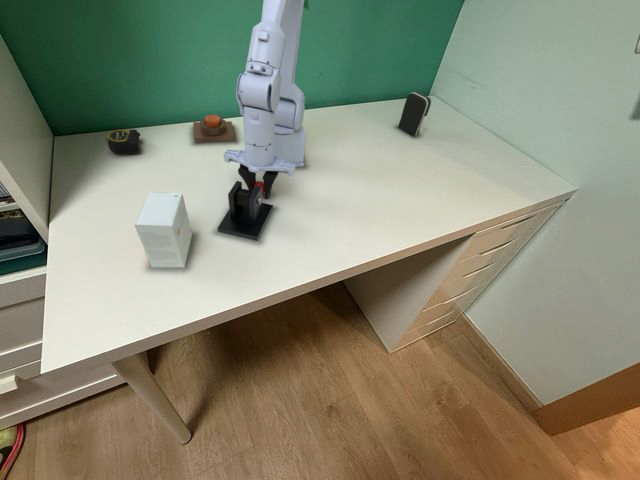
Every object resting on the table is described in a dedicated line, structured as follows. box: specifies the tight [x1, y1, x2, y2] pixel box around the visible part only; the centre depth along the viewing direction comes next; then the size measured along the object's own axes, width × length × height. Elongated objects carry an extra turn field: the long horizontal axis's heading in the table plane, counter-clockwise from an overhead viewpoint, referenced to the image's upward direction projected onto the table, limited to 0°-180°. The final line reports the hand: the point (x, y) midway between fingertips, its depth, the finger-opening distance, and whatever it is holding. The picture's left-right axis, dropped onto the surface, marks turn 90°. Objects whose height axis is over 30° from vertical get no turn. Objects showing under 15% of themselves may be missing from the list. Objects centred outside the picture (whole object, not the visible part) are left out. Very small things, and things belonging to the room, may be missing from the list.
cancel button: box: [204, 114, 221, 127], centre depth 84 cm, size 4×4×2 cm
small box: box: [134, 191, 193, 268], centre depth 55 cm, size 8×6×10 cm
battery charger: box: [397, 91, 432, 137], centre depth 98 cm, size 7×4×11 cm, turn 41°
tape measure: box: [105, 129, 141, 155], centre depth 77 cm, size 7×7×4 cm
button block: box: [192, 117, 236, 145], centre depth 86 cm, size 10×8×4 cm
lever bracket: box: [217, 180, 274, 242], centre depth 64 cm, size 10×8×8 cm
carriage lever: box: [237, 180, 265, 206], centre depth 67 cm, size 12×3×3 cm, turn 168°
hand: (260, 194), depth 72 cm, fingers closed on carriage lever, 3 cm apart
